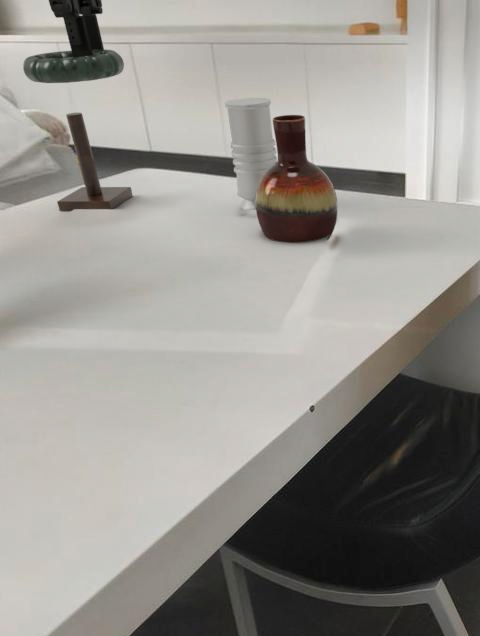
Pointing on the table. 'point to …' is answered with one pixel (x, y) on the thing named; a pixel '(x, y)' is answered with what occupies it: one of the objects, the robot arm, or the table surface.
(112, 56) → the ring
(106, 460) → the table surface
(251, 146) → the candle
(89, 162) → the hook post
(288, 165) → the vase
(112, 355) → the table surface
